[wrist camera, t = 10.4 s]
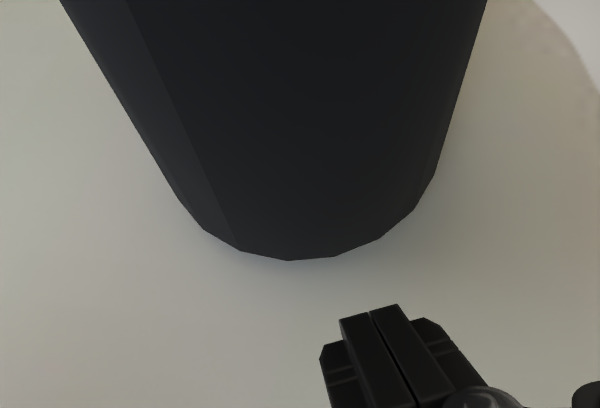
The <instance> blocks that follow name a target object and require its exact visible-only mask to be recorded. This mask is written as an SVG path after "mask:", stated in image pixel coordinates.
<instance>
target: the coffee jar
mask: <svg viewBox="0 0 600 408" xmlns="http://www.w3.org/2000/svg"><path fill="white" fill-rule="evenodd" d="M59 1H60V2H61V4H62V6H63V7H64V9H65V11H66V12H67V14H68V16H69V17H70V19H71V21H72V22H73V24H74V26H75V27H76V29H77V31H78V32H79V34H80V36H81V37H82V39H83V41H84V42H85V44H86V46H87V47H88V49H89V51H90V52H91V54H92V56H93V57H94V59H95V61H96V62H97V64H98V66H99V67H100V69H101V71H102V72H103V74H104V76H105V78H106V79H107V81H108V83H109V84H110V86H111V88H112V89H113V91H114V93H115V94H116V96H117V98H118V99H119V101H120V103H121V104H122V106H123V108H124V109H125V111H126V113H127V114H128V116H129V118H130V119H131V121H132V123H133V124H134V126H135V128H136V129H137V131H138V133H139V134H140V136H141V138H142V139H143V141H144V143H145V144H146V146H147V148H148V149H149V151H150V153H151V154H152V156H153V158H154V159H155V161H156V163H157V165H158V166H159V168H160V170H161V171H162V173H163V175H164V176H165V178H166V180H167V181H168V183H169V185H170V186H171V188H172V190H173V191H174V193H175V195H176V196H177V198H178V200H179V201H180V202H181V203H182V204H183V206H184V207H185V208H186V209H187V210H188V212H189V213H190V214H191V215H192V216H193V218H194V219H195V220H196V221H197V223H198V224H199V225H200V226H201V227H202V229H203V230H205V231H207V232H209V233H210V234H212V235H214V236H215V237H217V238H219V239H221V240H222V241H224V242H226V243H228V244H229V245H231V246H233V247H234V248H236V249H238V250H240V251H243V252H247V253H252V254H257V255H262V256H266V257H271V258H276V259H281V260H285V261H292V260H303V259H314V258H326V257H335V256H337V255H340V254H342V253H345V252H347V251H350V250H352V249H355V248H357V247H359V246H362V245H364V244H367V243H369V242H372V241H374V240H377V239H379V238H381V237H382V236H383V235H384V234H385V233H387V232H388V231H389V230H390V229H391V228H393V227H394V226H395V225H396V224H397V223H399V222H400V221H401V220H402V219H403V218H405V217H406V216H407V215H408V214H409V213H411V212H412V211H413V210H414V208H415V207H416V205H417V203H418V202H419V200H420V198H421V196H422V195H423V193H424V191H425V190H426V188H427V186H428V184H429V183H430V181H431V179H432V178H433V176H434V173H435V170H436V167H437V163H438V160H439V157H440V154H441V150H442V147H443V144H444V141H445V137H446V134H447V131H448V127H449V124H450V121H451V118H452V114H453V111H454V108H455V105H456V101H457V98H458V95H459V92H460V88H461V85H462V82H463V78H464V75H465V72H466V69H467V65H468V62H469V59H470V56H471V52H472V49H473V46H474V42H475V39H476V36H477V33H478V29H479V26H480V23H481V20H482V16H483V13H484V10H485V7H486V3H487V0H59Z"/></svg>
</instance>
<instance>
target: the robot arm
mask: <svg viewBox="0 0 600 408" xmlns="http://www.w3.org/2000/svg"><path fill="white" fill-rule="evenodd" d="M339 325H340V329H341V334H342V338H343V340H340V341H337V342H333V343H329V344H326V345H324V347H323V350H322V352H321V355H320V358H319V361H320V365H321V369H322V372H323V376H324V380H325V384H326V388H327V392H328V396H329V400H330V404H331V407H332V408H528V407H523V406H522V405H521V404H520V403H519V402H518V401H517V400H516V399H515V398H514V397H512V396H511V395H510V394H508V393H506V392H504V391H502V390H500V389H496V388H493V387H489V386H488V385H487V384H486V383H485V381H484V380H483V379H482V378H481V376H480V375H479V374H478V372H477V371H476V370H475V369H474V367H473V366H472V365H471V364H470V362H469V361H468V360H467V359H466V357H465V356H464V355H463V354H462V352H461V351H459V350H458V347H457V346H456V345H455V344H454V342H453V341H452V340H450V337H449V336H448V335H447V333H446V332H445V331H444V330H443V328H442V327H441V326H440V325H438V324H436V323H434V322H432V321H430V320H428V319H426V318H424V317H423V318H419V319H416V320H412V321H409V320H408V318H407V317H406V315H405V314H404V313H403V311H402V310H401V308H400V307H399V305H398V304H393V305H390V306H386V307H383V308H379V309H375V310H372V311H369V312H368V313H367V312H365V313H361V314H357V315H354V316H350V317H346V318H343V319H339ZM572 408H600V381H596V382H591V383H588V384H585V385H583V386H581V387H580V388H579V389H577V390H576V391H575V393H574V394H573V397H572Z"/></svg>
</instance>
